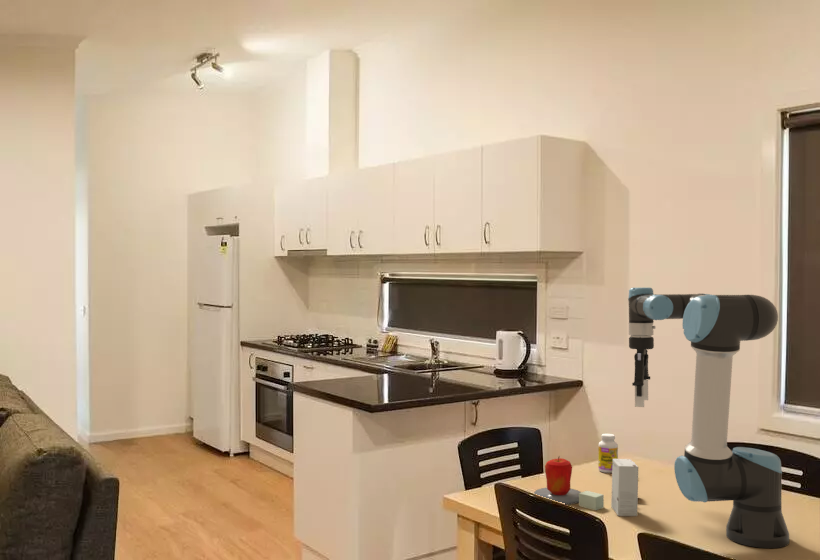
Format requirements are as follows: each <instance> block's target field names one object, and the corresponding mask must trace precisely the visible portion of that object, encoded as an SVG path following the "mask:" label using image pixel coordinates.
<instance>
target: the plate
mask: <svg viewBox="0 0 820 560" xmlns="http://www.w3.org/2000/svg"><path fill="white" fill-rule="evenodd" d="M581 492H582V491H580V490H578V489H574V488H571V487H570V491H569V492H568V493H567V494H566V495H554V494H552V493H551V492H550V491H549V490H548V489H547V487H543V488H542V487H541V488H539V489H536V490H535V491H534V494H537V495H540V496H543V497H546V498H549V499H552V500H555V501H558V502H562V503H565V504H568V505H574V504H579V493H581Z"/></svg>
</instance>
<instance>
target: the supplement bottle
mask: <svg viewBox="0 0 820 560" xmlns="http://www.w3.org/2000/svg"><path fill="white" fill-rule="evenodd" d="M600 437H601V441H599V442H598V445H597V446H598V453H597V454H598V458H597V459H598V460H597V461H598V464H597V465H598V471H600V472H601V473H605V474H612V466H613V459H619V450H618V449H619V445H618V443H617V442H616V441H615V439H616V435H615V434H613V433H602V434H601V436H600Z"/></svg>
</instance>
